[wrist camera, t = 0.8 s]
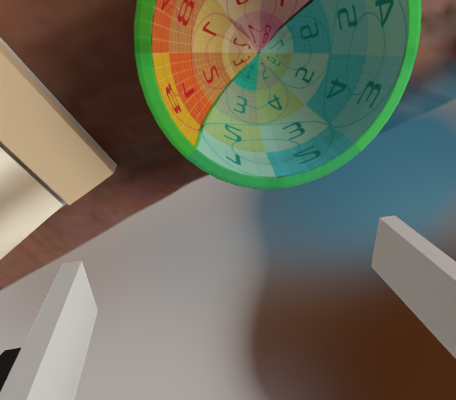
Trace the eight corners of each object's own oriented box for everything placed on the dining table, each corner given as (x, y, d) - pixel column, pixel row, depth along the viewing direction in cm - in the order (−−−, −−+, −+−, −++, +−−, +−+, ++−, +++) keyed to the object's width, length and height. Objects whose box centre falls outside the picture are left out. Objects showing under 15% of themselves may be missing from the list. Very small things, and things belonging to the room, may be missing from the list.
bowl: (228, 192, 40) (246, 234, 31) (91, 21, 30) (59, 10, 21) (387, 78, 37) (457, 88, 28) (292, -152, 27) (352, -247, 18)
